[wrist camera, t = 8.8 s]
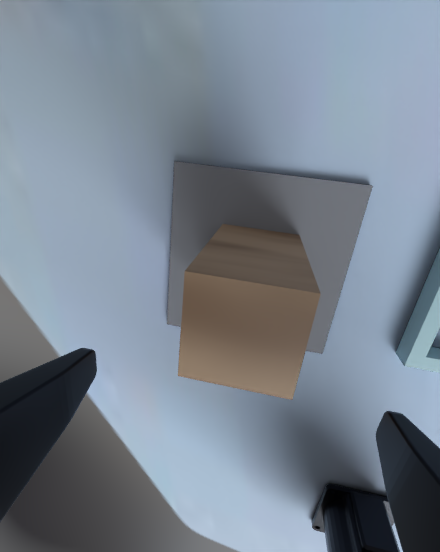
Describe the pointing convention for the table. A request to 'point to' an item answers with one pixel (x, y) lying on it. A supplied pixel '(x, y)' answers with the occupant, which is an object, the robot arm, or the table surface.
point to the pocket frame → (423, 326)
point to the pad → (267, 225)
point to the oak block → (248, 311)
